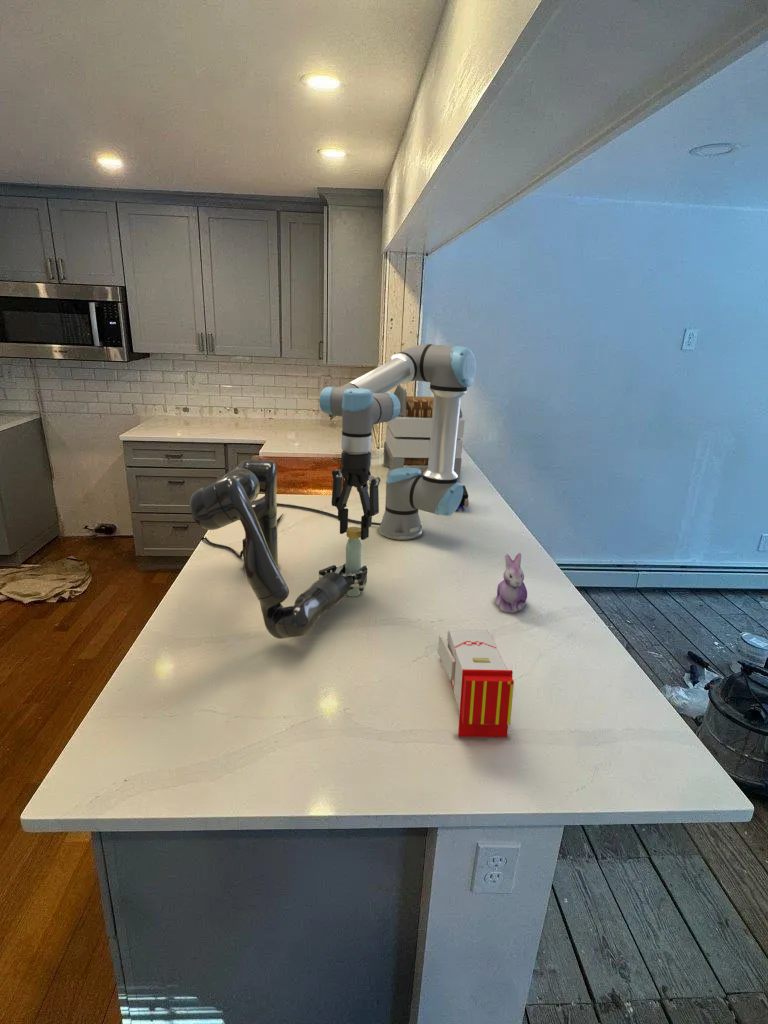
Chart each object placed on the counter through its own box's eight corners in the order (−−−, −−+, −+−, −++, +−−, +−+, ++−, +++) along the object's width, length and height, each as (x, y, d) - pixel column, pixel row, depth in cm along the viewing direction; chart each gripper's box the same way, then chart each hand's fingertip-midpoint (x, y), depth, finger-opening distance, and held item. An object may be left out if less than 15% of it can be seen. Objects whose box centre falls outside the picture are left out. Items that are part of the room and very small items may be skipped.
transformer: (382, 463, 289) (386, 382, 275) (445, 464, 293) (451, 384, 279) (390, 482, 257) (394, 392, 243) (460, 483, 261) (468, 394, 247)
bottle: (349, 587, 160) (350, 527, 154) (362, 591, 159) (364, 530, 152) (342, 593, 156) (343, 532, 150) (355, 597, 155) (357, 535, 149)
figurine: (509, 617, 148) (516, 565, 143) (485, 599, 156) (491, 550, 151) (537, 610, 152) (544, 559, 147) (512, 593, 161) (519, 544, 156)
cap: (344, 538, 150) (345, 531, 149) (348, 532, 154) (348, 525, 153) (360, 539, 150) (360, 532, 149) (363, 533, 153) (363, 527, 153)
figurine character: (468, 516, 224) (463, 500, 237) (471, 498, 221) (465, 483, 234) (452, 515, 224) (447, 499, 237) (453, 498, 220) (449, 482, 234)
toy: (488, 613, 130) (523, 677, 101) (484, 667, 133) (517, 744, 104) (435, 612, 130) (455, 676, 101) (432, 666, 133) (451, 743, 103)
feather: (290, 508, 223) (292, 504, 223) (272, 532, 197) (275, 527, 196) (286, 505, 223) (289, 501, 223) (268, 529, 197) (271, 525, 196)
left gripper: (351, 585, 139) (381, 560, 154) (302, 572, 144) (335, 549, 159) (351, 612, 141) (380, 584, 156) (302, 598, 147) (335, 573, 162)
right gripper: (396, 454, 142) (391, 539, 150) (334, 442, 151) (333, 523, 159) (380, 460, 136) (376, 548, 144) (317, 447, 145) (317, 531, 153)
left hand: (357, 567), depth 158 cm, fingers closed on bottle, 4 cm apart
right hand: (354, 535), depth 152 cm, fingers open, 6 cm apart
